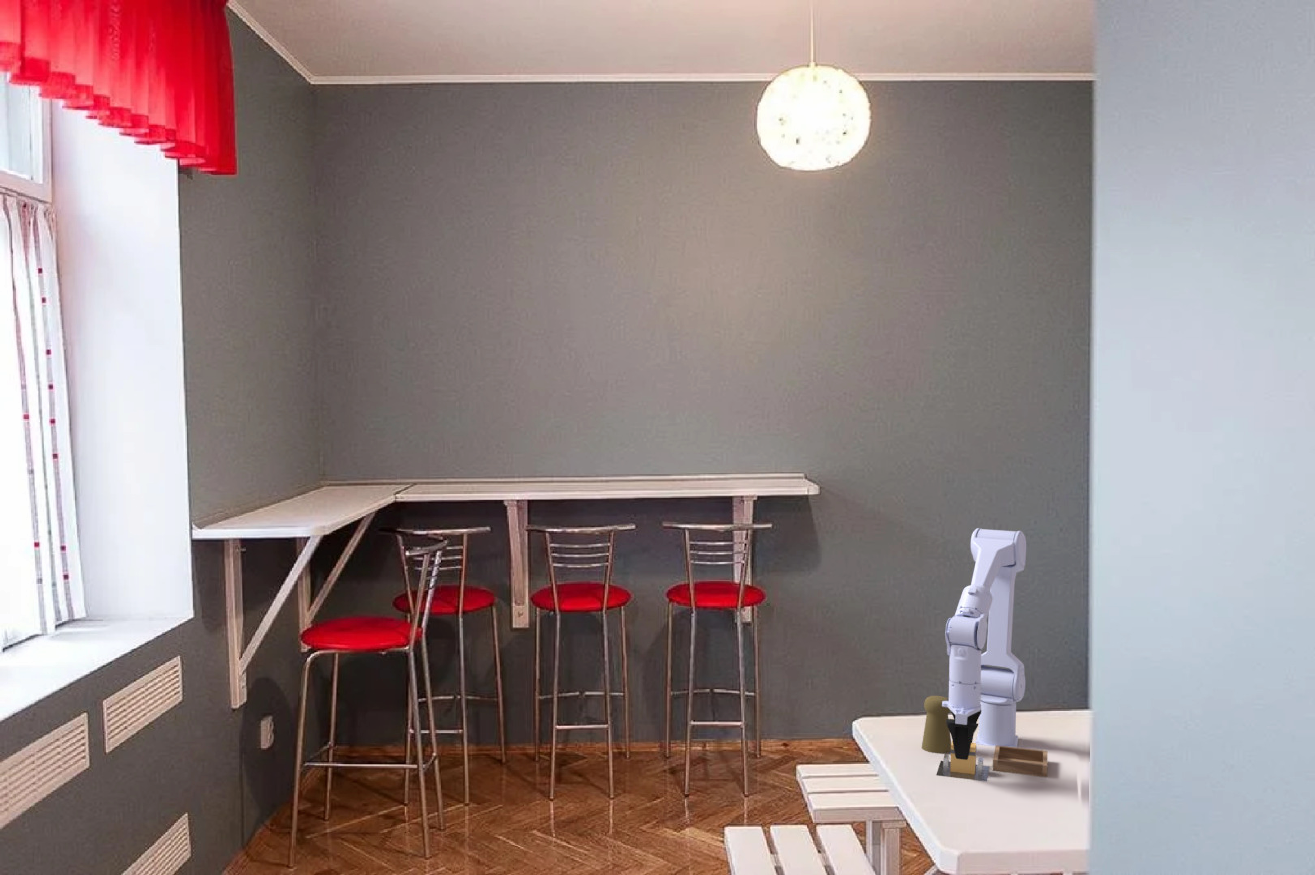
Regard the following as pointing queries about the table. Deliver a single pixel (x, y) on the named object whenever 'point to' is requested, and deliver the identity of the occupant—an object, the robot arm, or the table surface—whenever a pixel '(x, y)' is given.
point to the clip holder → (979, 775)
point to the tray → (1020, 761)
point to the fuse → (964, 761)
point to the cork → (936, 726)
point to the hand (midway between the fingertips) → (963, 752)
